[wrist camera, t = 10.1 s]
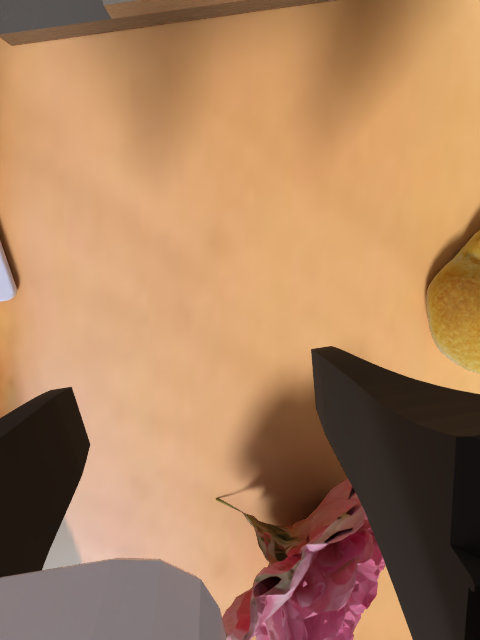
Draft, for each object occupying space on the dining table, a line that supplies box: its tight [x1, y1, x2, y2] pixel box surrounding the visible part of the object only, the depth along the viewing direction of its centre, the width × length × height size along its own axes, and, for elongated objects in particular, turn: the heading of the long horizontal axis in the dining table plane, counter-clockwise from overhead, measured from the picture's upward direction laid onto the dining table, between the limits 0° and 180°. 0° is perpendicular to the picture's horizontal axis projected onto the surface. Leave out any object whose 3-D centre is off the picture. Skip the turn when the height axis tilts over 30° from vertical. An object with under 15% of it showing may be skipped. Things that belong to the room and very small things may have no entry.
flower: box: [216, 479, 385, 640], centre depth 22 cm, size 11×10×10 cm
